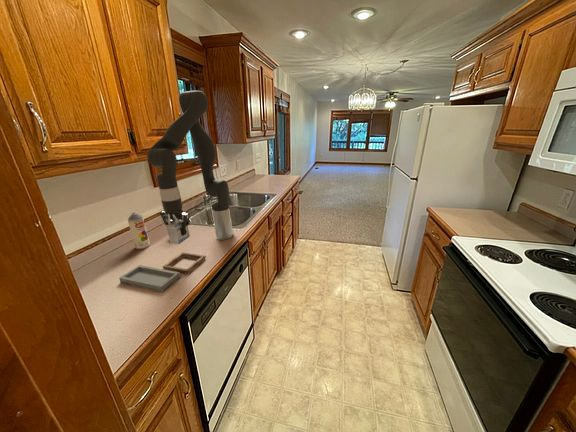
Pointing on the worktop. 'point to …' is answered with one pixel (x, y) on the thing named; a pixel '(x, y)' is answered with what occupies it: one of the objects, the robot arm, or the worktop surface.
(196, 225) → the worktop surface
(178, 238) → the medicine box
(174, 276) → the charcoal tray
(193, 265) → the frame
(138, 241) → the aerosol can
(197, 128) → the robot arm
